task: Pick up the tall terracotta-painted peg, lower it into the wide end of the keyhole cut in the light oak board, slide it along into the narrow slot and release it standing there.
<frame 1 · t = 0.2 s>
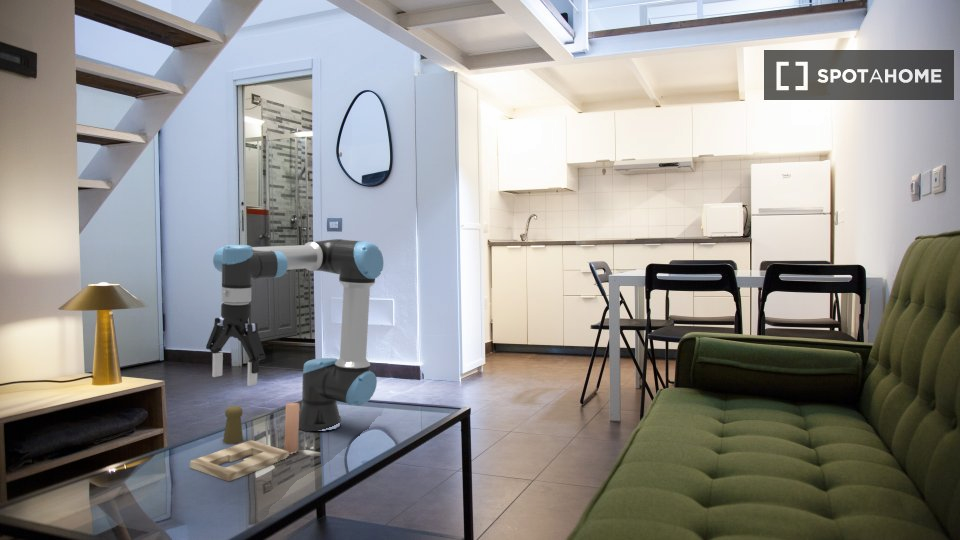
hand: (234, 380, 185), 28 cm above the table, fingers open, 13 cm apart
cork: (233, 441, 216), on the table
peg: (291, 452, 209), on the table
keyhole board: (240, 462, 199), on the table
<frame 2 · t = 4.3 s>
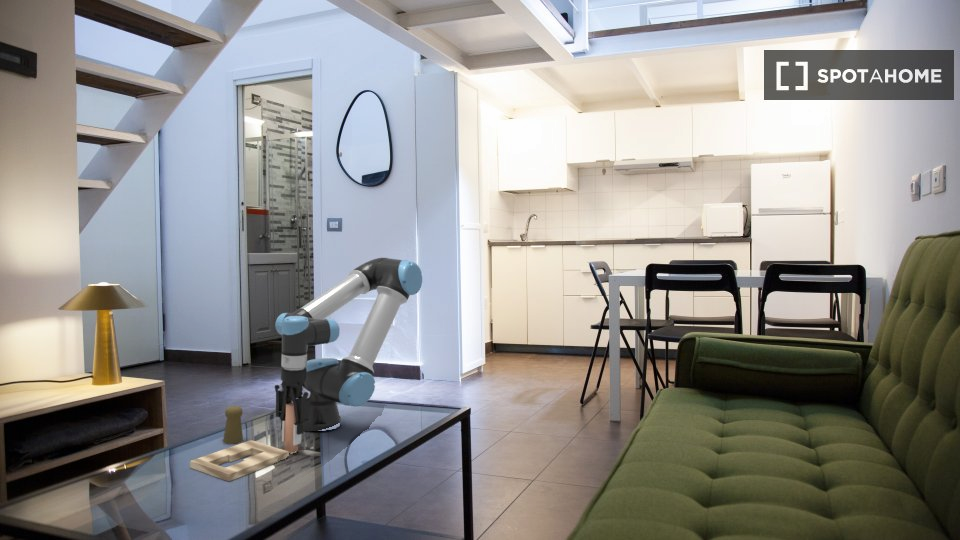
hand: (291, 442, 209), 3 cm above the table, fingers closed on peg, 4 cm apart
peg: (291, 452, 209), on the table, touching gripper
everything else where it was.
when the fingers open (4 cm above the table, at t = 11.7 s): peg stays where it is, resting in keyhole board.
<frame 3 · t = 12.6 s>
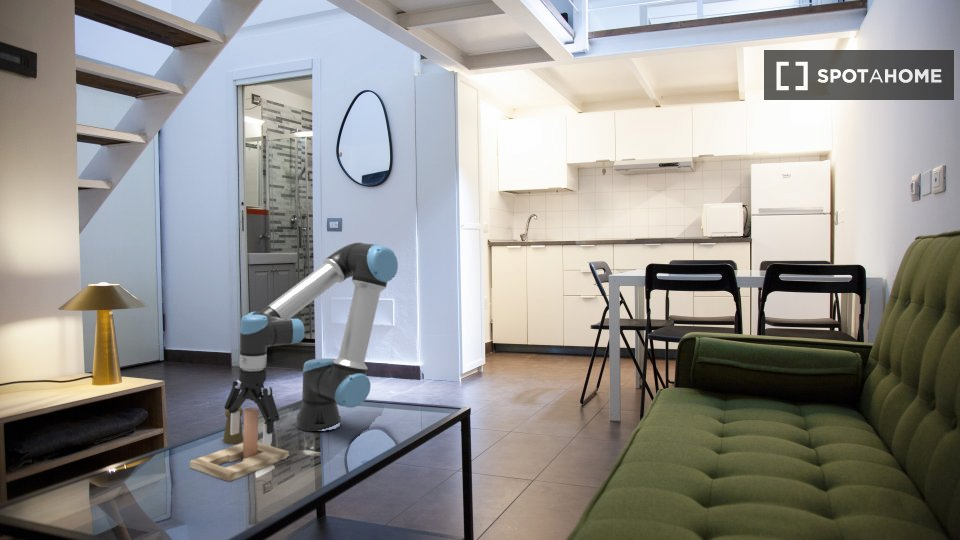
hand: (250, 438, 201), 6 cm above the table, fingers open, 13 cm apart
peg: (249, 459, 202), resting in keyhole board
everything else where it was.
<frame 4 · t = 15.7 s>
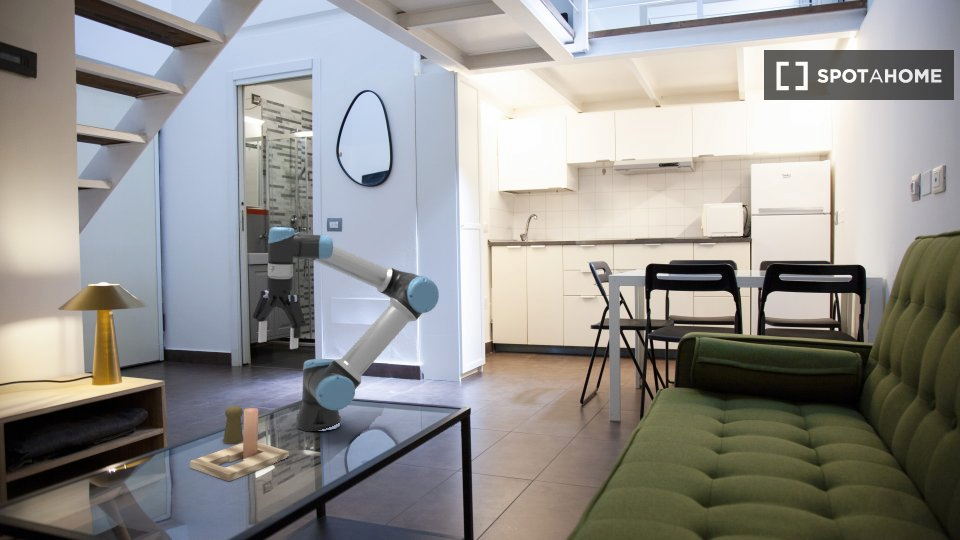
hand: (277, 345, 213), 32 cm above the table, fingers open, 13 cm apart
nothing on the table moved.
at the end: peg 0.1 cm from the target spot on the keyhole board, point 0.0 cm above the keyhole board's base; peg tilted 0°; the gripper is holding nothing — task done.
